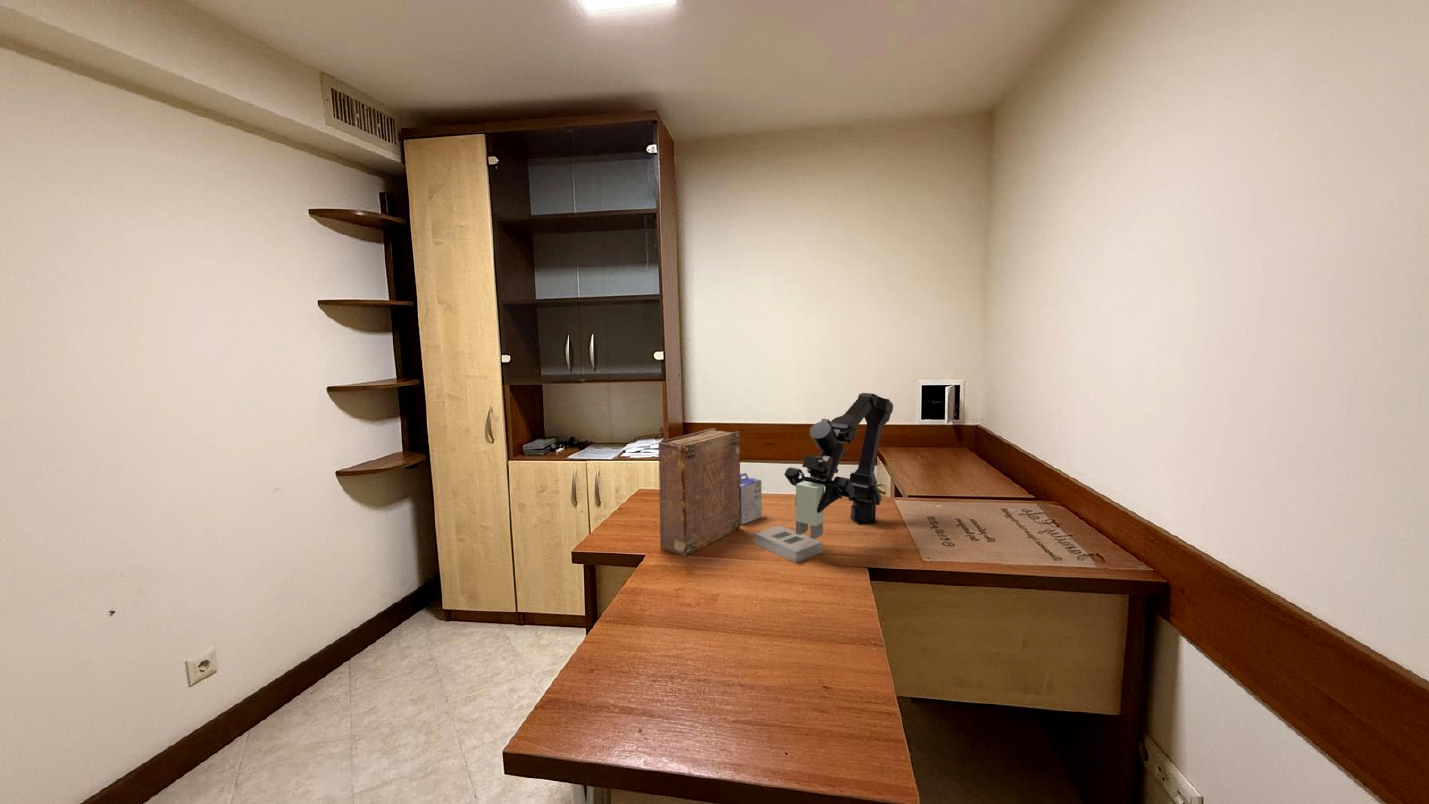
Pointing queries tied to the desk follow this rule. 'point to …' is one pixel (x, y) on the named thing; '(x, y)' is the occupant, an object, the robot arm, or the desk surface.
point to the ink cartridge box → (750, 499)
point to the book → (698, 489)
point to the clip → (809, 508)
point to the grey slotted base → (788, 543)
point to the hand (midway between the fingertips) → (806, 509)
